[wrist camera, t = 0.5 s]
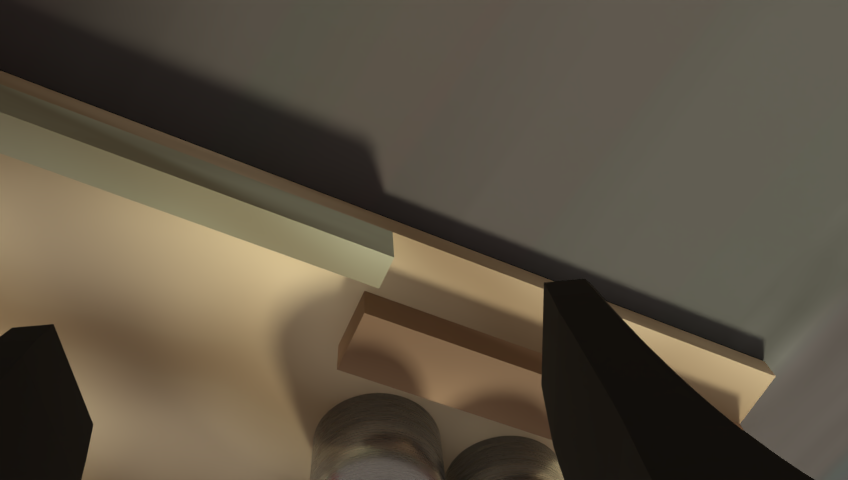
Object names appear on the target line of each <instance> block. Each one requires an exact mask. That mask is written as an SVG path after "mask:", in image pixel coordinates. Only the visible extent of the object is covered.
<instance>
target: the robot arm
mask: <svg viewBox="0 0 848 480" xmlns="http://www.w3.org/2000/svg"><path fill="white" fill-rule="evenodd" d="M541 386H542V392H543V397H544V402H545V407H546V413H547V418H548V423H549V428H550V433H551V438H552V442H553V447H554V450H555V453H556V456H557V460H558V463H559V466H560V469H561V472H562V475H563V478H564V480H814V479H813V478H811V477H809V476H808V475H806V474H805V473H803V472H801V471H800V470H798V469H797V468H795V467H794V466H792V465H791V464H789V463H788V462H787V461H785V460H784V459H782V458H781V457H779V456H778V455H776V454H775V453H773V452H772V451H771V450H769V449H768V448H767V447H765V446H764V445H763V444H761V443H760V442H758V441H757V440H756V439H754V438H753V437H752V436H750V435H749V434H748V433H746V432H745V431H744V430H742V429H741V428H739V427H738V426H737V425H736V424H734V423H733V422H732V421H731V420H729V419H728V418H727V417H726V416H725V415H723V414H722V413H721V412H720V411H718V410H717V409H716V408H715V407H714V406H713V405H711V404H710V403H709V402H708V401H707V400H706V399H705V398H703V397H702V396H701V395H700V394H699V393H698V392H696V391H695V390H694V389H693V388H692V387H691V386H690V385H689V384H688V383H686V382H685V381H684V380H683V379H682V378H681V377H680V376H679V375H678V374H677V373H676V372H675V371H674V370H672V369H671V368H670V367H669V366H668V365H667V364H666V363H665V362H664V361H663V360H662V359H661V358H660V357H659V356H658V355H657V354H656V353H655V352H654V351H653V350H652V349H651V348H650V347H649V346H648V345H647V344H646V343H645V342H644V341H643V340H642V339H641V338H640V337H639V336H638V335H637V334H636V333H635V332H634V331H633V330H632V329H631V328H630V327H629V325H628V324H627V323H626V322H625V321H624V320H623V319H622V318H621V317H620V316H619V315H618V314H617V313H616V311H615V310H614V309H613V308H612V307H611V306H610V305H609V304H608V303H607V302H606V300H605V299H604V298H603V297H602V296H601V295H600V294H599V293H598V291H597V290H596V289H595V288H594V287H593V286H592V285H591V284H590V283H589V282H588V281H587V280H586V279H579V280H567V281H556V282H544V296H543V337H542V378H541ZM92 429H93V422H92V420H91V417H90V415H89V412H88V410H87V407H86V405H85V402H84V400H83V397H82V394H81V392H80V389H79V387H78V384H77V382H76V379H75V377H74V374H73V372H72V369H71V367H70V364H69V362H68V359H67V357H66V354H65V352H64V349H63V347H62V344H61V342H60V339H59V336H58V334H57V331H56V329H55V326H54V324H49V325H37V326H25V327H14V328H11V329H9V330H8V331H7V332H5V333H4V334H3V335H2V336H0V480H81V479H82V475H83V471H84V467H85V463H86V458H87V453H88V449H89V444H90V439H91V434H92Z"/></svg>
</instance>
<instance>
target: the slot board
mask: <svg viewBox="0 0 848 480" xmlns="http://www.w3.org/2000/svg"><path fill="white" fill-rule="evenodd" d="M544 282H554V281H552V280H549V279H546V278H544V277H541V276H538V275H536V274H533V273H531V272H528V271H525V270H523V269H520V268H517V267H515V266H512V265H510V264H507V263H504V262H502V261H499V260H496V259H494V258H491V257H489V256H486V255H483V254H481V253H478V252H475V251H473V250H470V249H468V248H465V247H462V246H460V245H457V244H454V243H452V242H449V241H447V240H444V239H441V238H439V237H436V236H433V235H431V234H428V233H426V232H423V231H420V230H418V229H415V228H412V227H410V226H407V225H405V224H402V223H399V222H397V221H394V220H391V219H389V218H386V217H384V216H381V215H378V214H376V213H373V212H370V211H368V210H365V209H363V208H360V207H357V206H355V205H352V204H349V203H347V202H344V201H342V200H339V199H336V198H334V197H331V196H328V195H326V194H323V193H321V192H318V191H315V190H313V189H310V188H307V187H305V186H302V185H300V184H297V183H294V182H292V181H289V180H286V179H284V178H281V177H279V176H276V175H273V174H271V173H268V172H265V171H263V170H260V169H258V168H255V167H252V166H250V165H247V164H244V163H242V162H239V161H236V160H234V159H231V158H229V157H226V156H223V155H221V154H218V153H215V152H213V151H210V150H208V149H205V148H202V147H200V146H197V145H194V144H192V143H189V142H187V141H184V140H181V139H179V138H176V137H173V136H171V135H168V134H166V133H163V132H160V131H158V130H155V129H152V128H150V127H147V126H145V125H142V124H139V123H137V122H134V121H131V120H129V119H126V118H124V117H121V116H118V115H116V114H113V113H110V112H108V111H105V110H103V109H100V108H97V107H95V106H92V105H89V104H87V103H84V102H82V101H79V100H76V99H74V98H71V97H68V96H66V95H63V94H61V93H58V92H55V91H53V90H50V89H47V88H45V87H42V86H40V85H37V84H34V83H32V82H29V81H26V80H24V79H21V78H19V77H16V76H13V75H11V74H8V73H5V72H3V71H0V336H2V335H3V334H4V333H5V332H7V331H8V330H9V329H11V328H14V327H25V326H37V325H49V324H54V326H55V329H56V331H57V334H58V336H59V339H60V342H61V344H62V347H63V349H64V352H65V354H66V357H67V359H68V362H69V364H70V367H71V369H72V372H73V374H74V377H75V379H76V382H77V384H78V387H79V389H80V392H81V394H82V397H83V400H84V402H85V405H86V407H87V410H88V412H89V415H90V417H91V420H92V422H93V429H92V434H91V439H90V444H89V449H88V453H87V458H86V463H85V467H84V471H83V475H82V479H81V480H310V471H311V459H312V448H313V438H314V433H315V430H316V428H317V426H318V424H319V422H320V421H321V419H322V418H323V417H324V415H325V414H326V413H327V412H328V411H329V410H331V409H332V408H333V407H335V406H336V405H337V404H339V403H341V402H343V401H344V400H347V399H349V398H352V397H355V396H359V395H363V394H369V393H388V394H394V395H398V396H402V397H405V398H407V399H410V400H412V401H414V402H416V403H417V404H419V405H420V406H422V407H423V408H424V409H425V410H426V411H427V412H428V413H429V414H430V415H431V416H432V417H433V419H434V421H435V422H436V424H437V427H438V429H439V433H440V439H441V447H442V455H443V463H444V471H445V474H446V471H447V469H448V467H449V466H450V464H451V463H452V461H453V460H454V459H455V458H456V457H457V456H458V455H459V454H460V453H461V452H462V451H464V450H465V449H467V448H468V447H470V446H472V445H473V444H475V443H477V442H480V441H482V440H485V439H489V438H492V437H498V436H522V437H527V438H531V439H534V440H536V441H539V442H541V443H543V444H544V445H546V446H547V447H549V448H550V449H551V450H552V451H553V452H554V453H555V450H554V447H553V442H552V438H551V433H550V428H549V423H548V418H547V413H546V407H545V402H544V397H543V392H542V386H541V378H542V337H543V296H544ZM606 302H607V301H606ZM607 303H608V304H609V305H610V306H611V307H612V308H613V309H614V310H615V311H616V313H617V314H618V315H619V316H620V317H621V318H622V319H623V320H624V321H625V322H626V323H627V324H628V325H629V327H630V328H631V329H632V330H633V331H634V332H635V333H636V334H637V335H638V336H639V337H640V338H641V339H642V340H643V341H644V342H645V343H646V344H647V345H648V346H649V347H650V348H651V349H652V350H653V351H654V352H655V353H656V354H657V355H658V356H659V357H660V358H661V359H662V360H663V361H664V362H665V363H666V364H667V365H668V366H669V367H670V368H671V369H672V370H674V371H675V372H676V373H677V374H678V375H679V376H680V377H681V378H682V379H683V380H684V381H685V382H686V383H688V384H689V385H690V386H691V387H692V388H693V389H694V390H695V391H696V392H698V393H699V394H700V395H701V396H702V397H703V398H705V399H706V400H707V401H708V402H709V403H710V404H711V405H713V406H714V407H715V408H716V409H717V410H718V411H720V412H721V413H722V414H723V415H725V416H726V417H727V418H728V419H729V420H731V421H732V422H733V423H734V424H736V425H737V426H738V427H739V428H741V429H742V430H743V428H742V427H741V425H740V423H741V421H742V420H743V419H744V417H745V416H746V415H747V414H748V412H749V411H750V410H751V408H752V407H753V406H754V404H755V403H756V402H757V400H758V399H759V398H760V396H761V395H762V394H763V392H764V391H765V390H766V388H767V387H768V386H769V385H770V383H771V382H772V381H773V379H774V378H775V377H776V376H775V375H774V374H773V372H772V371H771V370H770V368H769V367H768V366H767V364H766V363H765V362H764V361H762V360H759V359H756V358H754V357H751V356H749V355H746V354H743V353H741V352H738V351H735V350H733V349H730V348H727V347H725V346H722V345H720V344H717V343H714V342H712V341H709V340H706V339H704V338H701V337H699V336H696V335H693V334H691V333H688V332H685V331H683V330H680V329H678V328H675V327H672V326H670V325H667V324H664V323H662V322H659V321H657V320H654V319H651V318H649V317H646V316H643V315H641V314H638V313H636V312H633V311H630V310H628V309H625V308H622V307H620V306H617V305H615V304H612V303H609V302H607ZM555 454H556V453H555Z"/></svg>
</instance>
